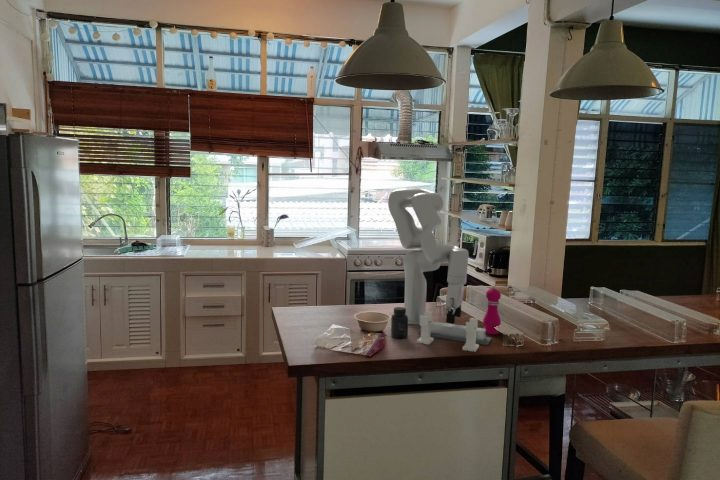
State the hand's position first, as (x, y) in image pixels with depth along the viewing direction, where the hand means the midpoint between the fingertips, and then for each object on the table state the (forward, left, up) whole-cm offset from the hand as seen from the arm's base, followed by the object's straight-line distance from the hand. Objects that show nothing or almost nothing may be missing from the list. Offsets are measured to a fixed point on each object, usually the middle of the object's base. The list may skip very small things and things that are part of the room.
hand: (453, 319), depth 221 cm
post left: (-8, -12, -7) cm, 16 cm away
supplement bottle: (-19, -12, -7) cm, 23 cm away
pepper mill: (+13, +13, -7) cm, 20 cm away
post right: (+10, -12, -7) cm, 17 cm away
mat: (+1, -1, -7) cm, 7 cm away
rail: (+1, -1, -6) cm, 6 cm away
